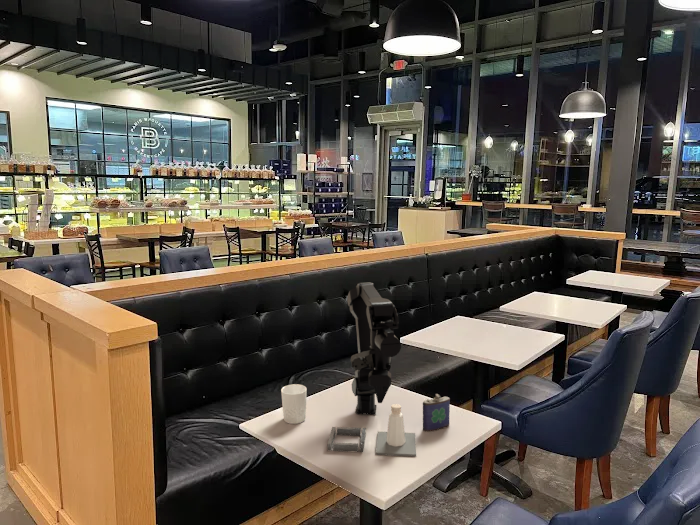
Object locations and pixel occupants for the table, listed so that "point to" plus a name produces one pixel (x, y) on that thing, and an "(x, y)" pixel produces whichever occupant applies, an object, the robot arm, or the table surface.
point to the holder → (346, 445)
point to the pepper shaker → (395, 427)
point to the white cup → (294, 403)
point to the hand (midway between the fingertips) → (380, 395)
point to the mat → (403, 450)
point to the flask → (436, 413)
